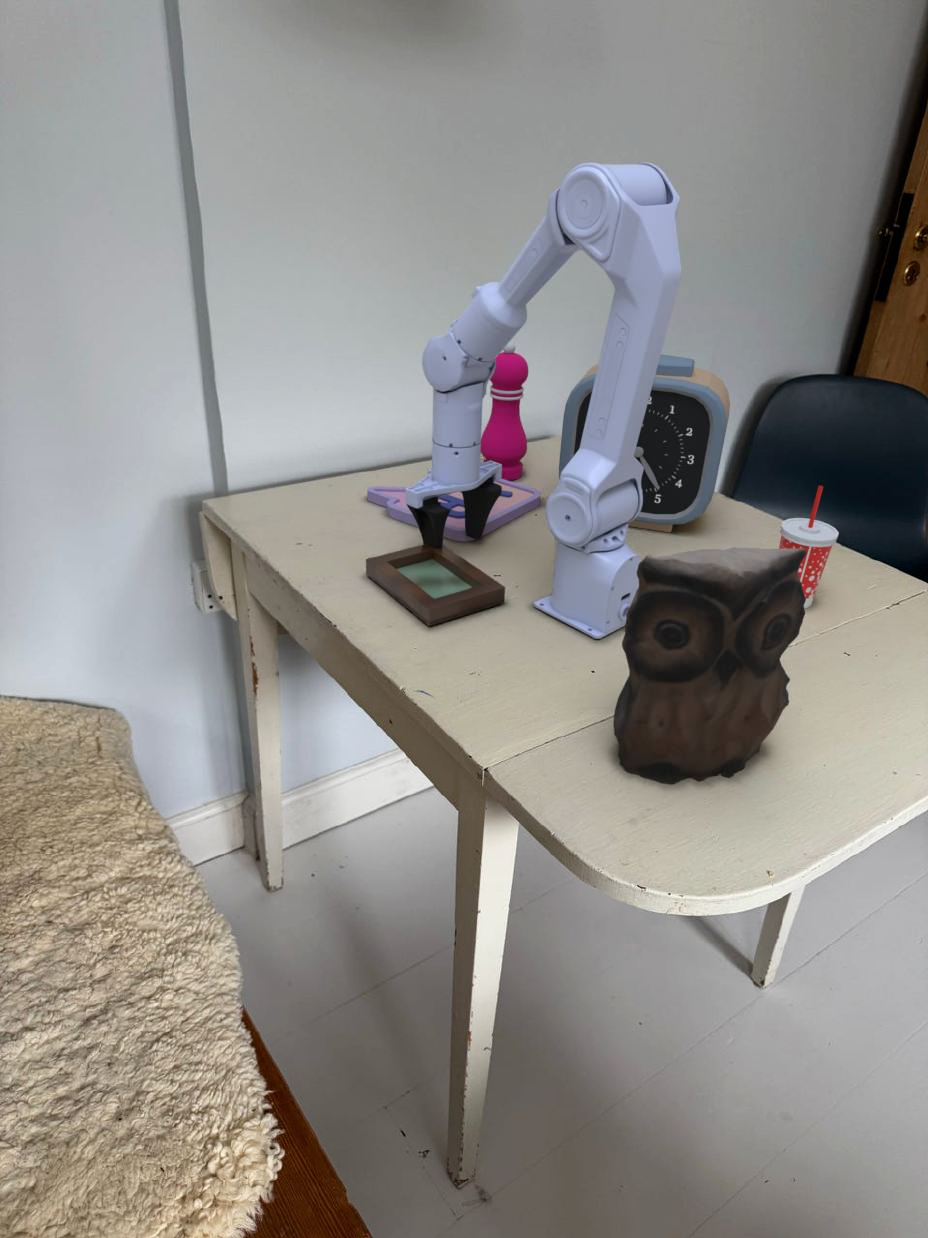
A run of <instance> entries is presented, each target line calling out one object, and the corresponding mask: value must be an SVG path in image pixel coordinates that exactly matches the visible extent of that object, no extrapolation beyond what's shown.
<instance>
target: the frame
mask: <svg viewBox="0 0 928 1238" xmlns="http://www.w3.org/2000/svg"><path fill="white" fill-rule="evenodd" d="M365 574H366V576H368V577H369V578H371V580H373V581H374V582H375V583H377V585H379V586H380V587H381V588H383V589H384V590H385V591H386V592H387V593H389V595H391V596H392V597H394V598H395V599H396V600H397V601H398V602H399V603H400V604H401V605H403V606H404V607H405V608H406V609H408V610H409V611H411V613H413V614H414V615H415V616H416V617H418V618H419V619H420V620H421V621H423V622H424V623H425V624H426V625H427V626H429V627H430V626H434V625H437V624H440V623H444V622H447V621H450V620H453V619H456V618H459V617H462V616H465V615H469V614H472V613H475V612H477V611H482V610H485V609H489V608H491V607H495V606H497V605H501V604H505V597H506V587H505V585H504V584H501V582H498V581H497V580H495V579H494V578H493V577H491V576H490V575H488V574H487V573H485V572H484V571H483V570H481V569H480V568H478V567H476V566H475V565H473V564H472V563H471V562H469V561H468V560H466V559H465V558H463V557H462V556H460V555H459V554H458V553H456V552H454V550H451V549H450V548H449V547H447V546H446V545H445V544H443V546H442V548H439V549H436V548H434V547H432V546H430V545H428V544H424V543H423V544H420V545H416V546H412V547H408V548H404V549H400V550H397V551H392V552H388V553H384V554H381V555H376V556H372V557H368V558H365Z"/></svg>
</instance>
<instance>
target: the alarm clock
mask: <svg viewBox="0 0 928 1238" xmlns="http://www.w3.org/2000/svg"><path fill="white" fill-rule="evenodd" d="M695 363H696V361H695V360H694V359H693V358H689V357H684V356H683V357H682V356H675V355H669V354H668V355H667V354H661V355H660V359H659V362H658V366H657V370H656V374H655V377H654V381H653V385H652V389H651V393H650V396H649V400H648V404H647V408H646V411H645V415H644V419H643V423H642V426H641V430H640V434H639V438H638V441H637V445H636V449H635V453H634V457H635V458H636V459H637V460H638V461H639V462H640V463H641V465H642V466H643V468H644V470H643V474H642V478H641V489H642V494H643V504H642V508H641V511H640V513H639V514H638V516H637V517H636V518H635V519H634V520H633V521H631V522H629V524H628V527H633V528H639V529H644V530H645V529H646V530H652V531H659V532H665V533H672V530H673V526H674V525H685V524H687V523H689V522H692V521H695V520H697V519H698V518H699V517H700V516H701V515H702V514H703V513H705V511H706V510H707V509H708V507H709V505H710V503H711V502H712V499H713V496H714V493H715V490H716V484H717V479H718V475H719V470H720V465H721V458H722V454H723V449H724V444H725V438H726V434H727V428H728V423H729V418H730V410H731V409H730V408H731V400H730V394H729V391H728V388H727V386H726V384H725V382H724V381H723V380H722V379H721V378H720V377H718V376H717V375H716V374H715V373H714V372H713V371H710V370H705V369H702V368H698V367H695ZM598 364H599V363H597V364H595V365H592V367H591V368H590V369H589V370H588V371H587V372H586V373H585V374H584V375H583V377H582V378H581V379H580V380H579V382H578V383H576V385H575V386H574V387H573V388H572V390H571V391H570V393H569V395H568V398H567V400H566V402H565V406H564V410H563V418H562V427H561V428H562V429H561V439H560V448H559V449H560V450H559V460H558V481H559V480H560V475H561V472H562V471H563V469H564V468H565V467H566V465H567V464H568V463H569V462H570V460H571V459H572V458H573V456H574V455H575V454H576V453H577V451H578V450H579V448H580V444H581V440H582V435H583V431H584V426H585V422H586V417H587V413H588V408H589V404H590V400H591V395H592V391H593V386H594V382H595V377H596V373H597V368H598Z"/></svg>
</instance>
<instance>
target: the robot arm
mask: <svg viewBox="0 0 928 1238" xmlns="http://www.w3.org/2000/svg"><path fill="white" fill-rule="evenodd" d="M680 202H681V197H680V195H679V194H678V192H677V191H676V189H675V187H674V186H673V184H672V183H671V180H670V179H669V178H668V176H667V175H666V173H665V171H663V169H661V168H660V167H659V166H658V165H656V164H654V163H651V162H645V161H644V162H642V161H641V162H636V163H633V164H632V163H631V164H629V163H628V164H624V163H622V164H619V163H617V164H616V163H615V164H613V163H612V164H611V163H610V164H605V163H604V164H602V163H601V164H600V163H599V162H583V163H581V164H578V165H576V166H575V167H573V168H572V169H571V170H569V172H568V173H567V174H566V176H565V177H564V179H563V180H562V182H561V185H560V187H557V188H556V189H555V190H554V191H553V192H552V193H551V194H550V195H549V197H548V199H547V206H546V212H545V214H544V216H543V217H542V219H541V221H540V222H539V224H538V225H537V226H536V228H535V229H534V231H533V232H532V234H531V236H530V237H529V239H528V240H527V242H526V243H525V244H524V246H523V248H522V249H521V250H520V252H519V253H518V255H517V256H516V258H515V260H514V261H513V262H512V264H511V265H510V267H509V268H508V270H507V271H506V273H505V274H504V276H503V277H502V279H501V281H500V282H498V281H490V282H487V283H485V284H484V285H478V286H475V288H474V290H473V291H472V293H471V294H470V295H471V297H472V298H473V299H472V300H471V301H470V303H468V305H467V306H466V308H465V309H464V311H463V312H462V313H461V315H460V316H459V317H458V318H457V319H453V321H452V322H451V323H450V324H449V328H450V329H449V331H448V332H446V333H445V334H444V335H437V336H432V337H431V338H430V339H428V340H427V344H426V345H425V347H424V350H423V353H422V359H421V363H422V365H421V366H422V371H423V374H424V376H425V379H426V381H427V382H428V383H429V385H430V386H431V387H432V431H431V433H432V434H431V435H432V436H431V438H432V440H431V443H432V445H431V446H432V447H431V449H432V450H431V467H429V468H428V469H427V475H426V476H424V477H423V478H422V479H421V480H419V481H418V482H416V483H414V484H413V485H410V486H407V487H408V488H406V489H405V503H406V504H407V506H408V508H409V509H410V511H411V513H412V514H413V516H414V518H415V520H416V522H417V524H418V527H417V528H418V530H419V533H420V535H421V539H422V543H423V544H428V545H430V546H432V547H434V548H436V549H439V548H442V546H443V545H444V537H443V533H444V527H445V523H446V520H447V517H448V515H449V513H450V511H451V510H450V509H448V508H446V507H444V506H441V502H438V498H440V497H443V496H446V495H449V494H451V493H455V492H461V491H462V495H463V500H464V507H465V531H466V536H469V537H471V538H473V539H475V540H474V541H480V540H481V539H482V538H483V536H482V534H483V531H484V528H485V525H486V522H487V519H488V516H489V514H490V512H491V509H492V507H493V506H494V504H495V502H496V501H497V499H498V498H499V496H500V495H501V493H502V486H501V485H499V484H496V483H494V480H495V481H496V480H499V479H501V474H502V464H499V463H496V462H493V461H487V462H483V461H482V462H481V438H482V425H483V424H482V423H483V405H484V403H483V401H484V398H485V396H486V395H487V387H488V383H489V381H490V379H491V377H492V376H493V374H494V371H495V367H496V361H494V359H495V358H496V357H497V356H498V355H499V354H500V353H502V351H504V350H503V349H504V348H505V346H506V345H507V344H508V343H509V342H512V339H514V337H515V336H516V335H517V334H518V333H519V332H520V330H521V329H522V328H523V327H524V325H525V324H526V323H527V320H528V309H527V304H528V303H529V302H530V301H531V300H532V299H533V298H534V297H535V296H536V294H538V293H539V292H540V290H542V289H543V287H545V285H546V284H547V283H548V282H549V281H550V280H551V279H552V278H553V277H554V276H555V274H556V273H557V272H558V271H559V270H560V269H561V268H563V266H564V265H565V264H566V263H567V262H568V261H569V260H570V259H571V257H573V255H574V254H575V253H577V252H578V251H582V252H583V253H585V254H586V256H589V258H590V259H591V260H592V261H593V262H595V263H596V265H598V266H599V267H600V268H601V269H603V271H604V272H605V274H606V275H607V277H608V279H609V280H610V282H611V283H612V285H613V288H614V293H613V297H612V302H611V306H610V312H609V314H608V320H607V324H606V328H605V332H604V336H603V341H602V347H601V351H600V356H599V359H598V363H597V364H598V368H597V373H596V377H595V382H594V386H593V391H592V395H591V400H590V404H589V408H588V413H587V417H586V422H585V426H584V431H583V435H582V440H581V444H580V448H579V450H578V451H577V453H576V454H575V455H574V456H573V458H572V459H571V460H570V462H569V463H568V464H567V465H566V467H565V468H564V469H563V471H562V472H561V475H560V480H559V479H558V484H557V486H556V488H555V489H554V490H553V491H552V492H551V493H550V495H549V497H548V498H547V501H546V504H545V520H546V524H547V526H548V529H549V531H550V532H551V534H552V535H553V536H554V538H553V540H554V542H556V543H555V544H556V545H555V556H554V563H553V564H554V565H553V574H552V575H553V576H552V585H551V586H552V587H551V594H549V595H547V596H545V597H541V598H540V599H537V600H536V601H534V602H533V607H535V608H536V609H538V610H540V611H542V612H544V613H546V614H548V615H549V616H551V617H554V618H555V619H557V620H559V621H561V622H563V623H564V624H567V625H569V626H570V627H572V628H574V629H577V631H580V632H581V633H583V634H586V635H587V636H590V637H591V638H593V639H596V640H600V639H603V638H604V637H606V636H607V635H609V634H612V633H614V632H615V631H617V630H619V629H621V628H624V627H625V624H626V614H627V612H628V609H629V607H630V605H631V603H632V601H633V598H634V596H635V594H636V591H637V589H638V587H639V579H638V577H637V569H638V565H639V563H640V562H641V561H643V559H644V557H642V556H641V555H639V554H638V553H636V552H635V551H634V550H632V548H631V547H630V546H629V544H627V542H626V537H627V535H626V534H628V532H629V530H628V529H629V526H628V524H629V522H631V521H633V520H634V519H635V518H636V517H637V516H638V514H639V513H640V511H641V508H642V504H643V494H642V489H641V478H642V474H643V470H644V468H643V466H642V465H641V463H640V462H639V461H638V460H637V459H636V458H635V457H634V453H635V449H636V445H637V441H638V438H639V434H640V430H641V426H642V423H643V419H644V415H645V411H646V408H647V404H648V400H649V396H650V393H651V389H652V385H653V381H654V377H655V374H656V370H657V366H658V362H659V359H660V355H662V351H663V348H664V344H665V340H666V335H667V332H668V329H669V325H670V321H671V317H672V313H673V309H674V305H675V302H676V299H677V296H678V295H677V294H678V290H679V287H680V283H681V279H682V261H681V253H680V247H679V246H680V245H679V238H678V231H677V223H676V222H677V221H676V218H677V214H678V210H679V206H680Z"/></svg>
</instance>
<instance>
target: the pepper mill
mask: <svg viewBox="0 0 928 1238" xmlns="http://www.w3.org/2000/svg"><path fill="white" fill-rule="evenodd" d="M502 351H503V352H502ZM502 351H501V352H500V354H499V355H498V356H497V357H496V358H495V359H494V361H496V367H495V371H494V374H493V376H492V377H491V379H490V380H489V381H490V382H491V385H490V386H489V390H490V391H489V396H490V398H491V399H492V400H491V401H492V402H491V411H490V416H489V419H488V421H487V423H486V426H485V428H484V430H483V432H482V433H481V452H480V454H481V455H482V456H483V457H484V460H483V461H482V463H483V462H487V461H493V462H496V463H499V464H502V474H501V479H504V480H507V481H511V482H512V481H515V480H518V479H521V477H522V476H523V466H524V463H523V462H522V461H521V460H522V459H524V457H525V456H526V454H527V452H528V439H527V435H526V432H525V430H524V427H523V424H522V420H521V415H520V413H521V412H520V405H521V400H522V399H523V398H524V391H525V388H524V387H523V384H524V383H526V382H527V380H528V377H529V364H528V362H527V360H526V359H525V358H524V357H523V356H522V355H521V354H519V353H517V352H515V351H516V345H515V343H514V342H512V341H510V342H509V343H508V344H507V345H506V346H505V348H504V349H503V350H502Z"/></svg>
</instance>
